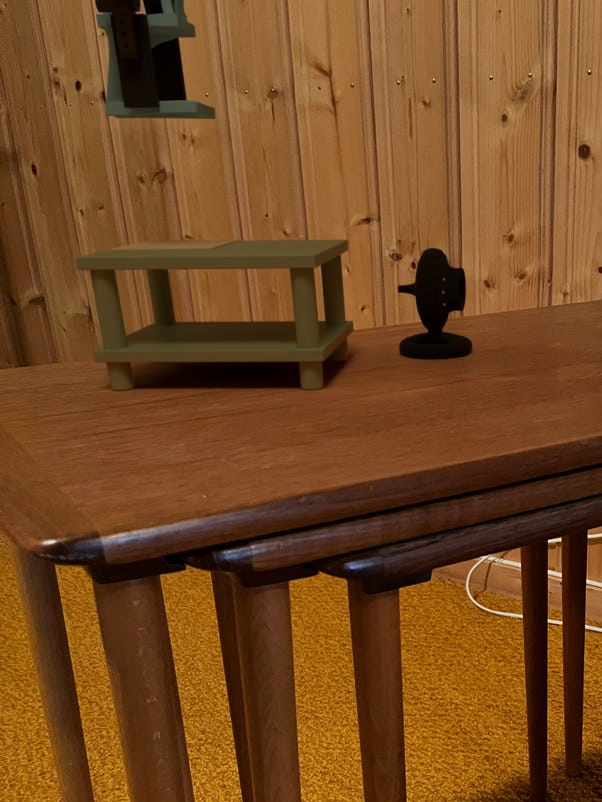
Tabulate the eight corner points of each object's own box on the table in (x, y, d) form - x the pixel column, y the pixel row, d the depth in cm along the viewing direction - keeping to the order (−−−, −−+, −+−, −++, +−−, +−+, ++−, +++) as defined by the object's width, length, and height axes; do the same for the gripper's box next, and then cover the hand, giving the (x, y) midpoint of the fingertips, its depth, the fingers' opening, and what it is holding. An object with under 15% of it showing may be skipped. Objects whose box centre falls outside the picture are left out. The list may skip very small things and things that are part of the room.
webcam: (464, 360, 96) (462, 251, 91) (391, 358, 97) (385, 251, 93) (478, 346, 103) (477, 244, 98) (409, 345, 104) (405, 244, 100)
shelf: (99, 391, 85) (74, 256, 80) (161, 357, 99) (143, 240, 95) (326, 391, 84) (314, 253, 79) (355, 356, 99) (347, 238, 94)
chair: (124, 121, 87) (100, -40, 82) (217, 119, 88) (199, -41, 83) (96, 114, 80) (68, -62, 75) (198, 113, 81) (176, -63, 76)
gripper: (106, -292, 65) (161, 103, 75) (197, -197, 82) (232, 112, 93) (-4, -288, 65) (66, 105, 75) (110, -194, 83) (154, 114, 93)
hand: (157, 108), depth 84 cm, fingers closed on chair, 7 cm apart
